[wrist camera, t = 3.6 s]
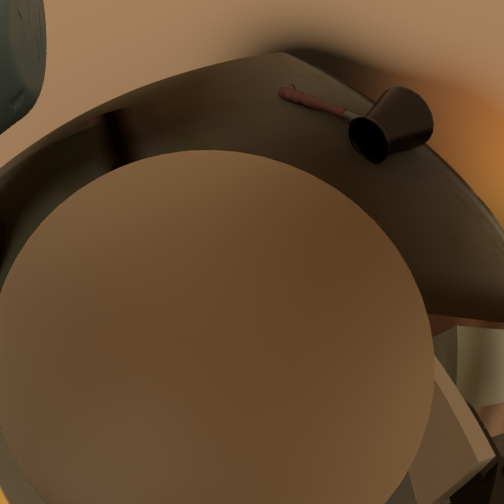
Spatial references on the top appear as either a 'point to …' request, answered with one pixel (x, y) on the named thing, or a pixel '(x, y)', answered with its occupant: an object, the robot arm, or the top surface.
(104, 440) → the rod
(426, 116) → the coffee pot
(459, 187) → the top surface
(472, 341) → the stand
